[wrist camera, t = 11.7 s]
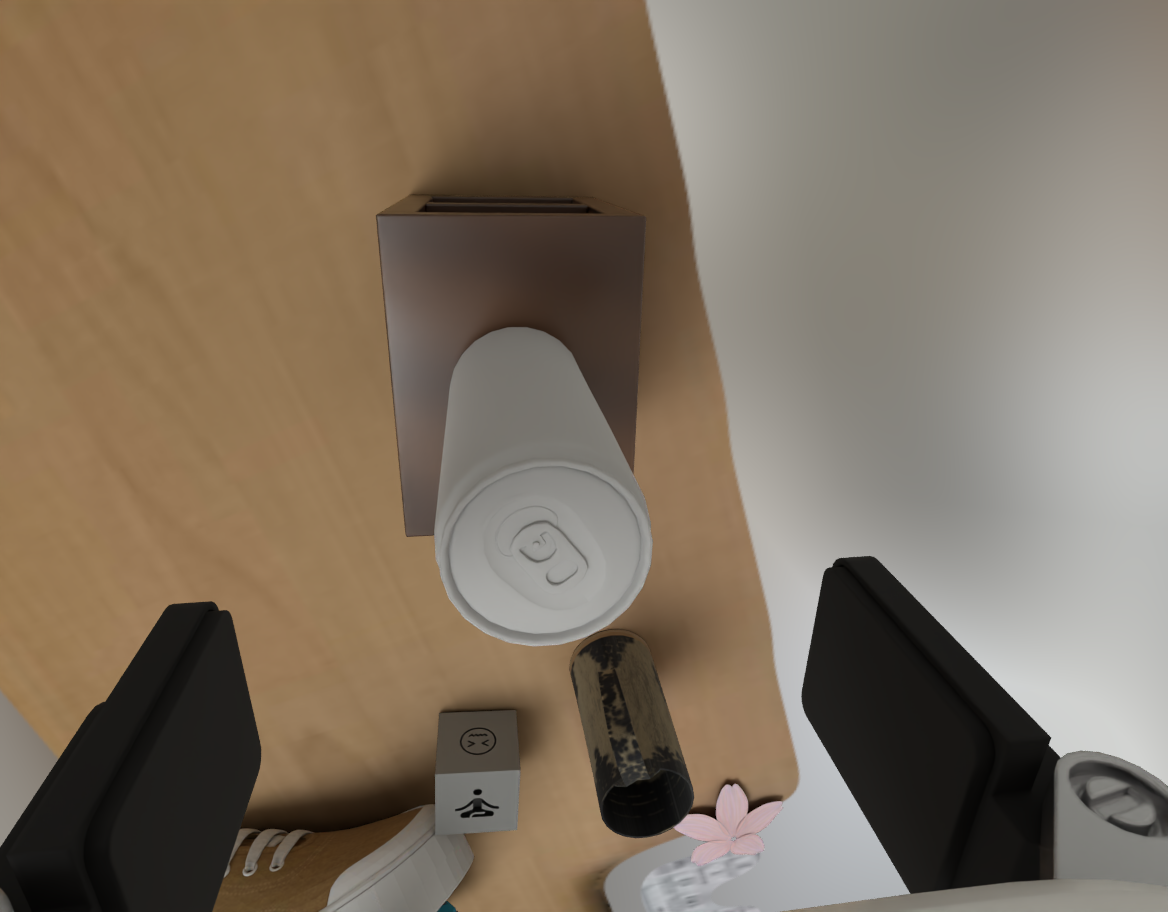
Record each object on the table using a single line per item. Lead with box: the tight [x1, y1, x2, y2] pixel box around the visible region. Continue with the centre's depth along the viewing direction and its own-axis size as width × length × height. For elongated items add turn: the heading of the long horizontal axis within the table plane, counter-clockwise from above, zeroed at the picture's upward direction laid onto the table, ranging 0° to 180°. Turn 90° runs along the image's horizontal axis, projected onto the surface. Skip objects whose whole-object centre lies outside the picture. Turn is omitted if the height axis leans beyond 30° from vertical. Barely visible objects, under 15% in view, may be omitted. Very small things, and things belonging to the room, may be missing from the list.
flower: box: [674, 784, 783, 866], centre depth 53 cm, size 10×10×2 cm
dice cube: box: [435, 710, 520, 835], centre depth 45 cm, size 5×5×5 cm
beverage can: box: [434, 327, 653, 646], centre depth 20 cm, size 5×5×12 cm
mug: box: [569, 630, 694, 838], centre depth 41 cm, size 8×6×12 cm
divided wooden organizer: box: [376, 195, 646, 537], centre depth 31 cm, size 12×9×12 cm
